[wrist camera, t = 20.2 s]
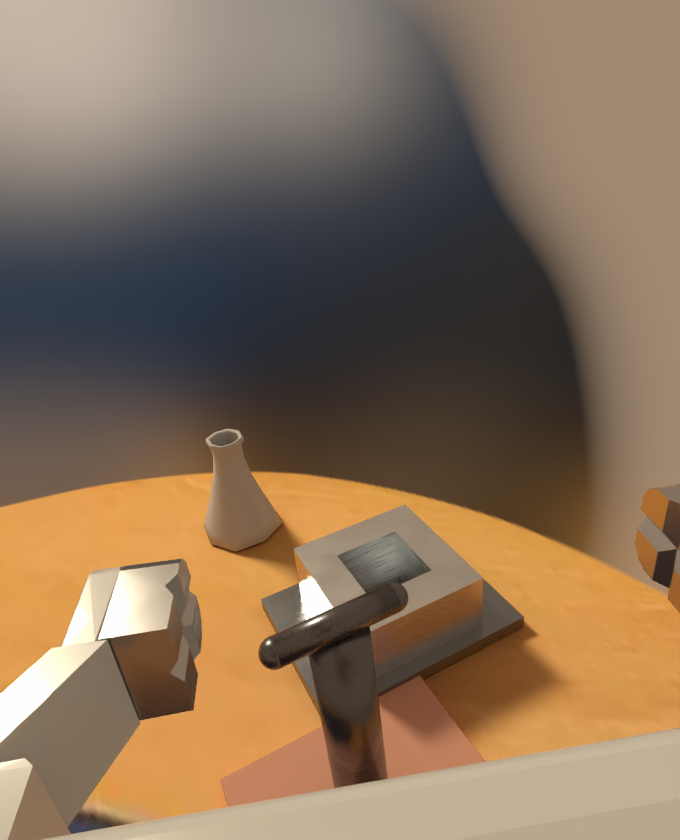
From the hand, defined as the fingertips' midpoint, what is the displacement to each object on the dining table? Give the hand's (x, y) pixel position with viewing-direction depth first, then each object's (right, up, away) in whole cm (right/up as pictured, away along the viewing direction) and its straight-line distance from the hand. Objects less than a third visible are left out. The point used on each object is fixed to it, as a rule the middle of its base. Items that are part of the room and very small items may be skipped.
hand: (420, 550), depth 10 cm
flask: (-11, -8, +47) cm, 48 cm away
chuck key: (0, -19, +23) cm, 30 cm away
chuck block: (+2, -13, +35) cm, 37 cm away
